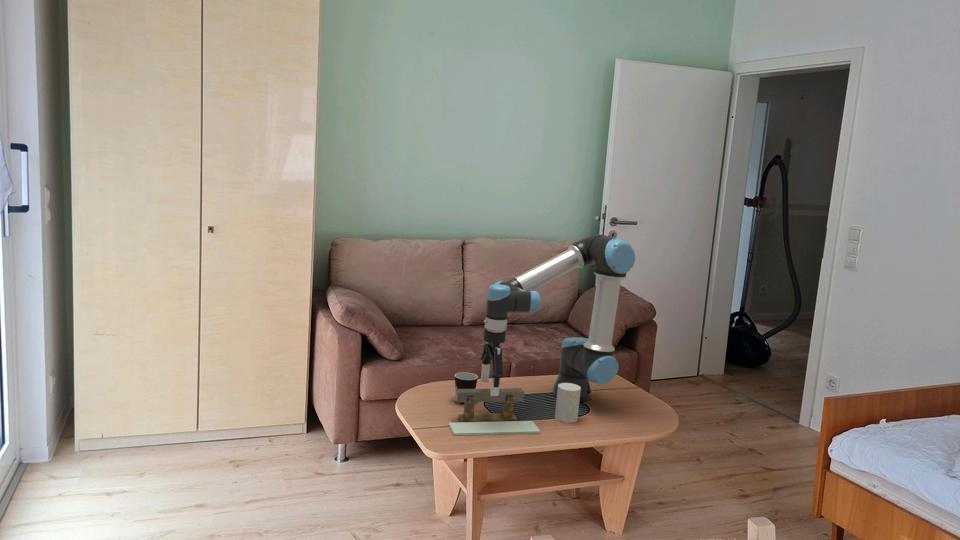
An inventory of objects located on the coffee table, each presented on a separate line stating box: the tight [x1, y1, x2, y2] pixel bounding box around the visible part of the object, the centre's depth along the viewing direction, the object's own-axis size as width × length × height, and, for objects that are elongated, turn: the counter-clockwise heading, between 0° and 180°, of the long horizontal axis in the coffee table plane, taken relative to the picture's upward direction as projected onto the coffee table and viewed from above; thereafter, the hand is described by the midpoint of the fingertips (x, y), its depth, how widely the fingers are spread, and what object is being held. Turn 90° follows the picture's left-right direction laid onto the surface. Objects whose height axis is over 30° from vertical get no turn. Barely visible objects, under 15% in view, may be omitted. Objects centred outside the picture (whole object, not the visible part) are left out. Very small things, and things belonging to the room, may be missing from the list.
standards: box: [458, 396, 518, 422], centre depth 255 cm, size 20×6×9 cm, turn 104°
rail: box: [454, 387, 525, 403], centre depth 255 cm, size 24×4×4 cm, turn 104°
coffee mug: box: [454, 371, 479, 406], centre depth 271 cm, size 12×9×10 cm
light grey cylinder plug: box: [554, 383, 581, 424], centre depth 261 cm, size 8×8×12 cm
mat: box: [447, 420, 542, 437], centre depth 247 cm, size 30×9×1 cm, turn 104°
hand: (489, 388), depth 254 cm, fingers open, 13 cm apart
